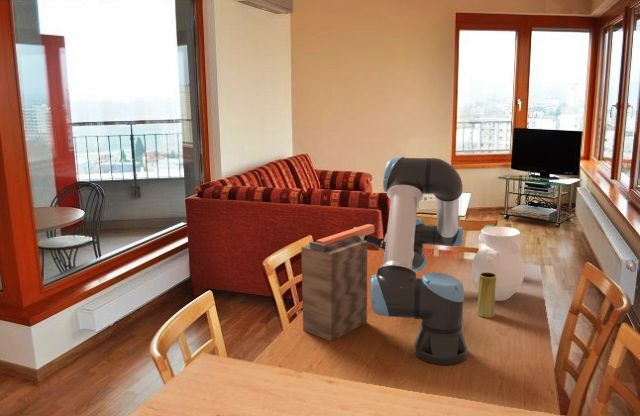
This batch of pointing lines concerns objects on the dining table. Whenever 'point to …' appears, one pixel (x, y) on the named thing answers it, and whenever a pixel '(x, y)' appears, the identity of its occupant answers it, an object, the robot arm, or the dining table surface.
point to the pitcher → (500, 260)
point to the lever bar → (348, 234)
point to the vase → (486, 295)
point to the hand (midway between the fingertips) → (369, 233)
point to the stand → (334, 287)
